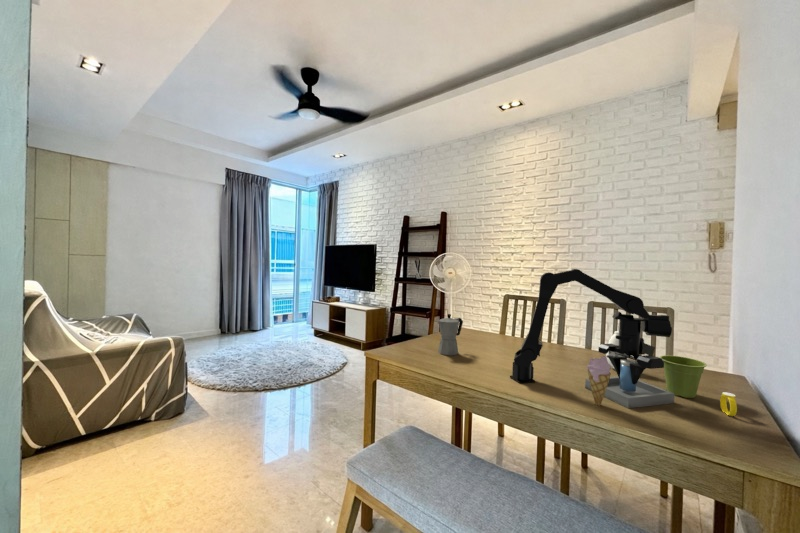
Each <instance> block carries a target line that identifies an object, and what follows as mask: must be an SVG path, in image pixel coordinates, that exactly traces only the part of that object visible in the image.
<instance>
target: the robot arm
mask: <svg viewBox="0 0 800 533" xmlns="http://www.w3.org/2000/svg"><path fill="white" fill-rule="evenodd" d="M572 282H577V283H579V284H581V285H583V286H584V287H586V288H588V289H590V290H591V291H594V292H595V293H598V294H599V295H601V296H603V297H605V299H606V298H607V299H608V301H611V302H612V303H613V304H614V305H615V306H616V307H617V308H619V309H621V310H622V311H623V312H626V313H627V314H624V313H622V312H621V311H617V312H616V313H614V314H613V315H612V318H613V319H614V320H619V324H618V325H619V335H616V339H619V346H617V345H614V344H608V343H601V344H599V346H598V353H601V354H604V355H606V354H607V353H608V352H609V355H607V357H608V358H609V359H610V361H611V363H612V365H613V366H614V368H615V369H614V368H613V369H614V370H615V372H616V375H617V376H618V377H619V379H620V361H621V359H627V358H629V360H634V361H635V363H630V371H631V379H632V383H633V384H637V382H638V380H640V378H641V376H642V374H643V372H644V371H645V370H646V369H650V370H651V369H652V370H653V369H664V361H663V360H662V358H660V356H659V357H658V356H655V355H654V353H655V350H656V347H655V346H652V345H650V344H648V343H645V339H644V338H643V337H641V331H642V332H643V333H645V335H646V336H650V337H651V336H652V337H653V336H654V337H661V338H662V337H663V338H670V337H671V336H672V333H673V327H672V324H671V321H670V316H669V315H667V314H650V313H649V312H648V311H647V310H646V308H644V307H645V305H644V301H643V300H642V299H641V298H640V297H638V296H636V295H632V294H629V293H627V292H624V291H622V290H618V289H615V288H613V287H612V286H610V285H607V284H605V283H604V282H602V281H600V280H598V279H596V278H594V277H592V276H591V275H588V274H587V273H585V272H583V271H582V270H580V269H577V268H573V269H569V270H566V271H565V270H564V271H561V272H557V273H553V272H544V273H542V274H541V276H540V278H539V290H538V298H537V302H536V306H535V309H534V313H533V316H532V318H531V319H532V320H531V322H530V327H529V330H528V333H527V335H526V336H525V338H524V340H523V342H522V344H521V347H520V349H519V350H517V351H516V352H515V353H514V356H513V361H512V373H511V374H512V375H509V378H511V379H513V380H514V381H515V382H517V383H519V384H525V383H536V380H535V379H534V372H535V371H534V369H535V368H534V364H533V362H534V361H536V360H537V359H538V357H541V350H542V348H543V346H544V344H543V341H541V340H540V336H541V332H542V328H543V324H544V322H545V318H546V314H547V310H548V307H549V305H550V300H551V299H552V297H553V295H554V293H555V292H556V290H557V288H558V286H559V285H563V284H568V283H572ZM634 315H635V316H639V317H634ZM626 354H627V355H626ZM607 357H606V358H607Z"/></svg>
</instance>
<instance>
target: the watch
mask: <svg viewBox="0 0 800 533" xmlns="http://www.w3.org/2000/svg"><path fill="white" fill-rule="evenodd" d="M719 399H720V400H719V404H720V409H721V411H722V412H723V413H724V412H725V413H726V414H727V415H729V416H728V417H733V416H734V417H735V416H736V415H737V412H738V404H737V401H736V395H735V394H734V393H732V392H731V393H730V392H726V391H725V392H724V391H723V392H722V393H721V395H720V398H719ZM727 400H728V401H727ZM727 402H729V409H728V405H727ZM725 413H724V414H725ZM726 414H725V415H726ZM727 415H726V416H727Z"/></svg>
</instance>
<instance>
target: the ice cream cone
mask: <svg viewBox="0 0 800 533" xmlns="http://www.w3.org/2000/svg"><path fill="white" fill-rule="evenodd" d="M588 362H589V363H588V364H587V365H586V368H587V373H588V379H589V381H590V386H591V390H592V391H591V390H590V391H591V393H592V397H593V401H594V404H595V406H599V407H601V405H602V402H603V399H604V398H605V397H604V395H605V392H606V389H607V386H608V383H609V379H610V377H611V368H612V366H611V365H610V364H609V363H608V361H607V357H606V355H603V356H601V357H600V358H597V357H595V358H590V359H588Z"/></svg>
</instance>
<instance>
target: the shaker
mask: <svg viewBox="0 0 800 533" xmlns="http://www.w3.org/2000/svg"><path fill="white" fill-rule="evenodd" d="M630 363H635V360H633V359H630V358H629V359H621V361H620V387H619V388H620V389H622V390H625V391H630V392H635V391H636V384H633V383H632V379H631V371H630Z"/></svg>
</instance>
